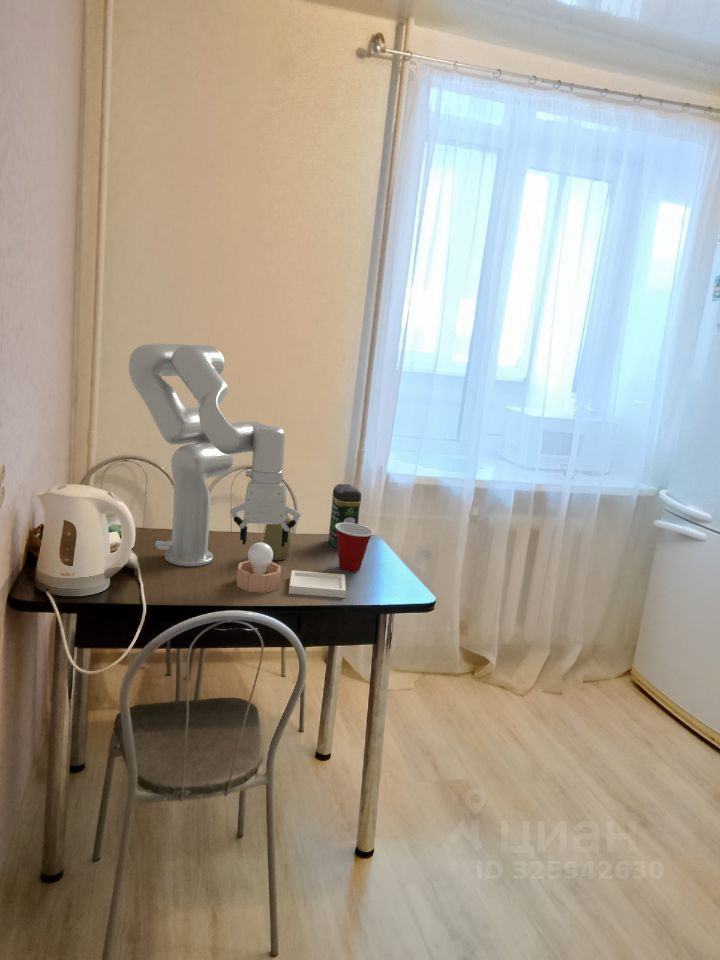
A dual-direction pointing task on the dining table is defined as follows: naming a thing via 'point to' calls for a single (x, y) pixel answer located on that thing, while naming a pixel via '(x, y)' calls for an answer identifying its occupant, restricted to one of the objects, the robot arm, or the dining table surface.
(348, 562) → the plastic cup
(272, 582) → the terracotta octagonal ring
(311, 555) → the dining table surface
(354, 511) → the coffee jar
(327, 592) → the tray
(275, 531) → the squeeze bottle
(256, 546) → the lightbulb
